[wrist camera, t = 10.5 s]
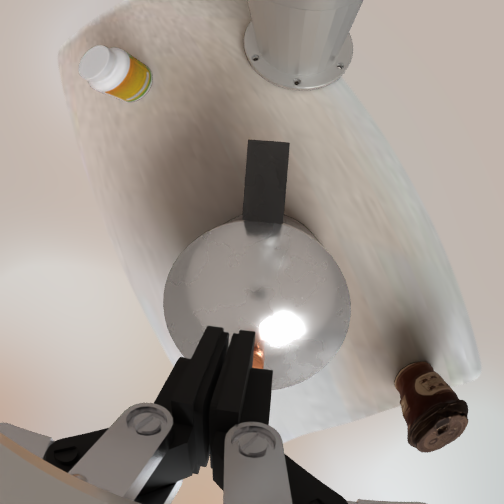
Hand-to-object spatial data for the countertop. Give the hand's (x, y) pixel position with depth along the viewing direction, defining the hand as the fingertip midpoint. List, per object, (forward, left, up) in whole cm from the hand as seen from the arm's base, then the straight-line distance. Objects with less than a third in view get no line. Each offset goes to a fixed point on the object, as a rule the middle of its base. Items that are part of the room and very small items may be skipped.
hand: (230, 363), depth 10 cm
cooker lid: (+2, 0, -15) cm, 15 cm away
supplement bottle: (-18, -18, -25) cm, 36 cm away
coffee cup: (+19, +24, -25) cm, 40 cm away
